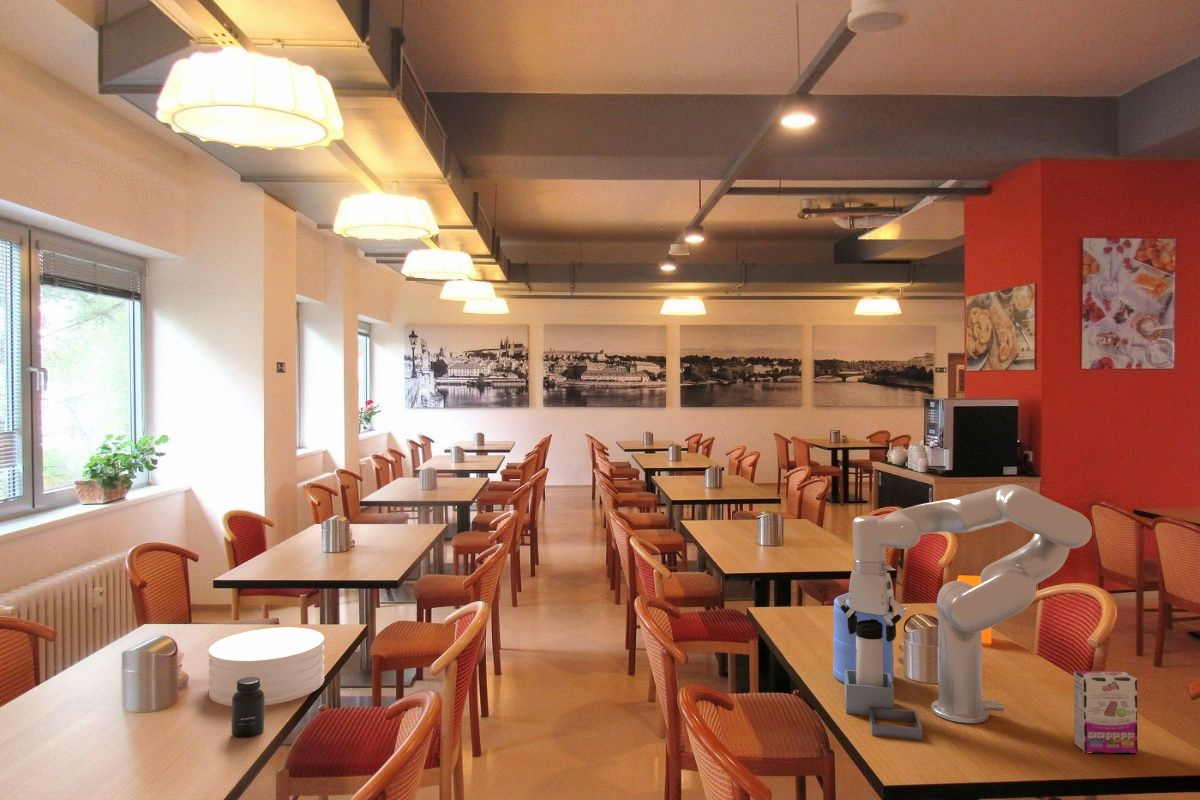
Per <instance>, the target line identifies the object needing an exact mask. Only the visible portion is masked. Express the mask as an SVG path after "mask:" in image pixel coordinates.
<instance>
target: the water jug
mask: <svg viewBox="0 0 1200 800" xmlns="http://www.w3.org/2000/svg"><path fill="white" fill-rule="evenodd" d="M848 593H849V592H846V593H844V594H841V595H839V596H837V597H835V598H834V600H833V608H832V609H833V610H832V611H833V613H832V614H833V639H832V640H833V641H832V643H833V666H832V673H833V676H834V678H836V679H837V680H838V681H840V682H841V683H843V684H845V670H856V632H855V633H853V634H849V629H848V618H847V617H846V616H845V613H844V612H843V611H842V609H841V606H840V604H839V602H838V600H837V598H838V597H840V596H843V595H845V594H848ZM846 604H847V605H848V606H849V599H847V600H846ZM849 608H850V607H849ZM892 613H893V614H894V615H895V611H894V612H892ZM855 616H857V622H859V621H862V620H870V619H875V620H878V622H880V623H882V625H883V633H882V634H883V673H890V676H891V680H892V683H893V682H894V680H895V671H894V640H892V641H891V642H887V641H886V625H888V623H887V621H886V620H885V619H884V617H883V616H877V615H871V614H865V613H860V612H857V613H856V614H855Z"/></svg>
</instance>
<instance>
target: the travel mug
mask: <svg viewBox="0 0 1200 800" xmlns="http://www.w3.org/2000/svg"><path fill="white" fill-rule="evenodd" d="M856 631H857V632H856V685H867V686H878V687H883V634H882V633H883V625H882V623H880V622H878V620H875V619H870V620H862V621H859V622H857V624H856Z"/></svg>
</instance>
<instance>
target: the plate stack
mask: <svg viewBox="0 0 1200 800" xmlns="http://www.w3.org/2000/svg"><path fill="white" fill-rule="evenodd" d="M324 643H325V635H323V633H321V632H319V631H318V630H315V629H310V628H306V627H304V628H303V627H293V626H292V627H286V626H285V627H270V628H263V629H262V628H261V629H256V630H255V629H254V630H249V631H244V632H240V633H235V634H233V635H229V636H227V637H223V638H221V639H219V640H217V641H216V642H214V643H213V644H212V645H211V646H210V647H209V649H208V667H209V668H208V687H209V689H208V697H209V699H211V700H212V701H213V702H214V703H217V704H220V705H224V706H228V707H229V706H231V707H232V697H233V695H234V694H235V693H236V692H237V681H238V680H240V679H242V678H246V677H258V678H259V679H260V688H259V689H261V690H262V691H263V692H264V706H270V705H277V704H282V703H285V702H290V701H293V700H297V699H299V698H302V697H305V696H307V695H310V694H312V693H313V692H315V691H317V690H319V688H321V686H322V685H323V684H324V683H325V664H324V663H325V654H324V653H325V645H324Z"/></svg>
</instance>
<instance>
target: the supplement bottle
mask: <svg viewBox="0 0 1200 800" xmlns="http://www.w3.org/2000/svg"><path fill="white" fill-rule="evenodd" d="M259 688H260V679H259V678H258V677H246V678H242V679H240V680H238V681H237V692H236V693H235V694H234V695H233V697H232V706H231V735H232V737H234V738H238V739H249V738H253V737H256V736H258V735H261V734H262V733H263V731H264V730H265V705H264V692H263V691H262V690H261V689H259Z"/></svg>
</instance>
